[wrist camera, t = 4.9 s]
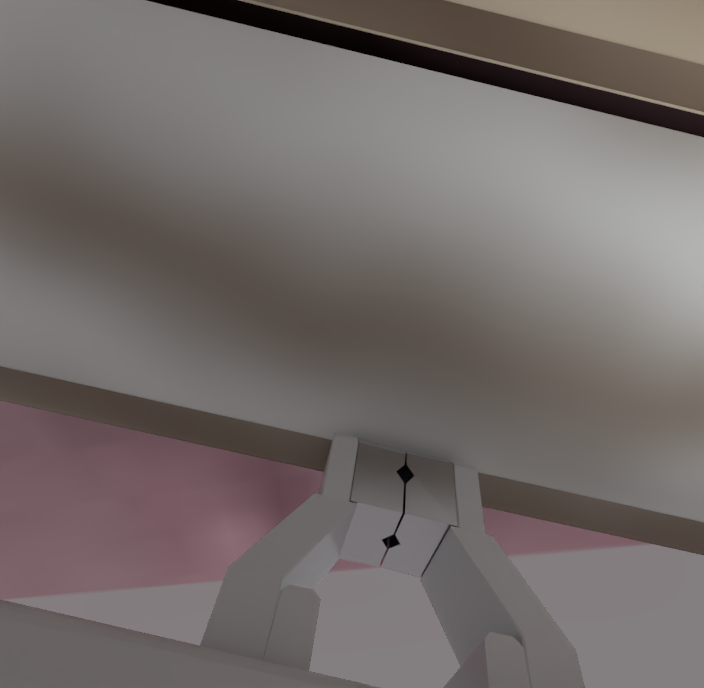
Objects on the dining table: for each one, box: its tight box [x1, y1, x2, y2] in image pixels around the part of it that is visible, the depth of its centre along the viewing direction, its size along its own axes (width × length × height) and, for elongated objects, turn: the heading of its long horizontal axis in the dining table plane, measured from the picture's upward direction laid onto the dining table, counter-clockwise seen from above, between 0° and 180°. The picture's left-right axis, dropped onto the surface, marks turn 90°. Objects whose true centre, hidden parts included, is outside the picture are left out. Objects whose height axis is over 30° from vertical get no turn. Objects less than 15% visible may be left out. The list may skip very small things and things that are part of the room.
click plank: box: [0, 0, 704, 555], centre depth 10 cm, size 8×22×2 cm, turn 78°
